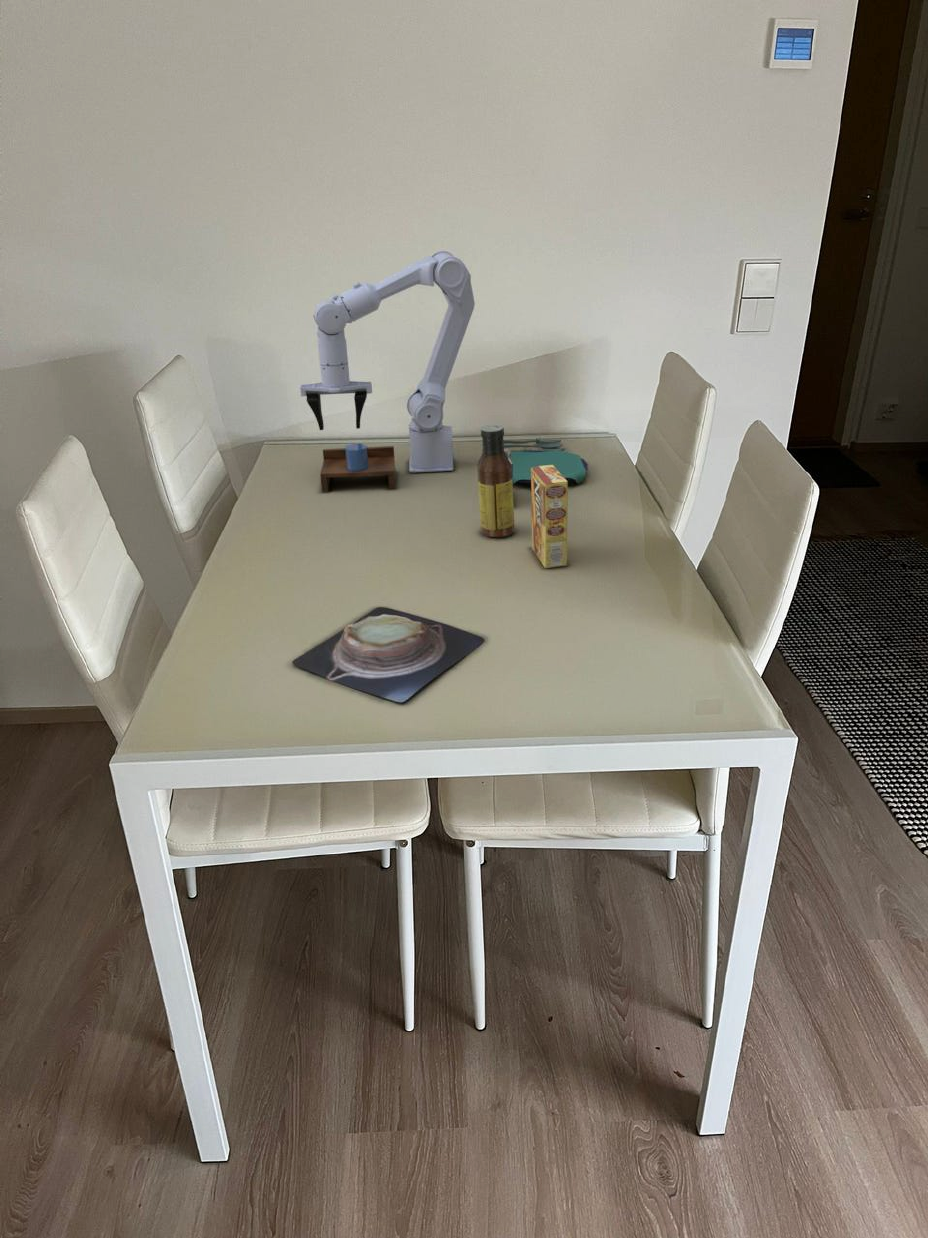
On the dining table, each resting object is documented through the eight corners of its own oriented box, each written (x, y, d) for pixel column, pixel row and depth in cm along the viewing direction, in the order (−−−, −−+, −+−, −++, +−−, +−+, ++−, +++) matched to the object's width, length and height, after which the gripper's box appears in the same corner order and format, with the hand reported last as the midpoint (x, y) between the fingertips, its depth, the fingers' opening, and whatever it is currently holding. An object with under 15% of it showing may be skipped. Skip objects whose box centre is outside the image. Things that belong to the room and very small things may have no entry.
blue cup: (368, 463, 201) (367, 442, 199) (368, 470, 197) (366, 449, 195) (347, 464, 201) (345, 443, 198) (346, 471, 197) (344, 450, 195)
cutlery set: (496, 492, 195) (495, 481, 194) (489, 445, 221) (489, 436, 220) (593, 489, 195) (594, 478, 194) (576, 442, 221) (576, 433, 220)
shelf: (395, 472, 207) (393, 445, 204) (395, 489, 198) (393, 461, 196) (325, 475, 207) (323, 448, 204) (322, 492, 198) (319, 464, 195)
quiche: (402, 706, 127) (400, 680, 125) (288, 665, 137) (285, 641, 135) (487, 639, 142) (486, 615, 140) (379, 607, 152) (377, 584, 150)
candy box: (568, 566, 163) (570, 480, 156) (544, 569, 162) (544, 483, 155) (552, 546, 171) (553, 463, 164) (529, 548, 170) (529, 466, 163)
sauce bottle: (515, 525, 179) (514, 421, 170) (513, 539, 174) (512, 432, 164) (480, 525, 180) (478, 421, 171) (477, 538, 175) (474, 432, 165)
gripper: (296, 369, 192) (303, 435, 198) (369, 366, 192) (374, 432, 199) (299, 360, 198) (306, 425, 204) (370, 357, 198) (375, 422, 205)
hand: (340, 427), depth 202 cm, fingers open, 7 cm apart
